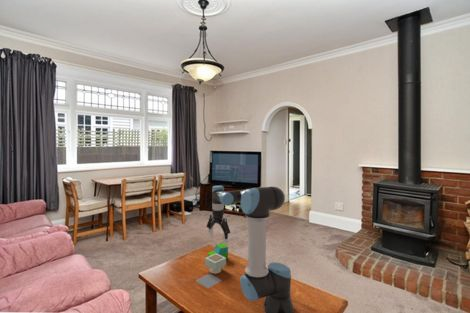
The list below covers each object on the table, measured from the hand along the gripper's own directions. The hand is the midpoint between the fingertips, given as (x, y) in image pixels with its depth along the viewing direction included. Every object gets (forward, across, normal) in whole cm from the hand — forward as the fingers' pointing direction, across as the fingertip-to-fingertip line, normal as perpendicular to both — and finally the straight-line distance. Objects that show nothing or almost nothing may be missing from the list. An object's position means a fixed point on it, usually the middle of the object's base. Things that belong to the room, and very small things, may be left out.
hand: (217, 240), depth 166 cm
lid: (+17, +2, +1) cm, 17 cm away
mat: (+21, -4, +12) cm, 24 cm away
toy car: (+21, +13, -12) cm, 27 cm away
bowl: (+21, +2, 0) cm, 21 cm away
